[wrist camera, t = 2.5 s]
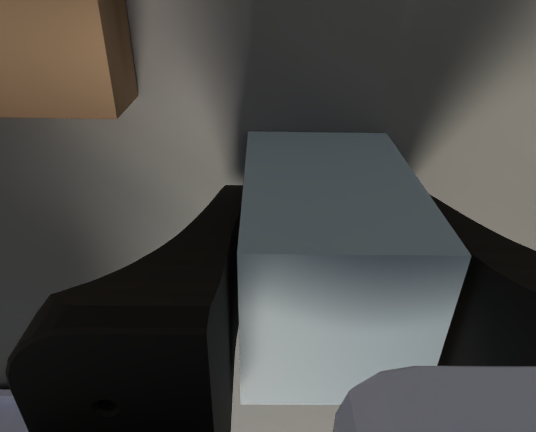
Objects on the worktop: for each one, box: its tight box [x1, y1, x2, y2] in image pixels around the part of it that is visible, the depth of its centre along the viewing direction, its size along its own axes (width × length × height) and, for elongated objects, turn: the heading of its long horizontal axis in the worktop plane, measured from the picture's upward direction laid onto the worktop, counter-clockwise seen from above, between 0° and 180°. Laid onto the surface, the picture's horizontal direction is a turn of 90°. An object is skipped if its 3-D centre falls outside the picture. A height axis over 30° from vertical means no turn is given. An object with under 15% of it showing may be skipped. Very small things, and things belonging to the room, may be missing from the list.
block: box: [237, 131, 471, 405], centre depth 11 cm, size 4×4×6 cm
